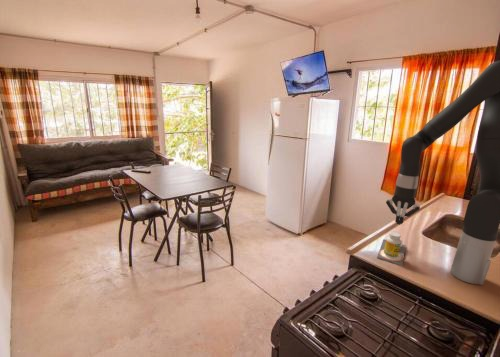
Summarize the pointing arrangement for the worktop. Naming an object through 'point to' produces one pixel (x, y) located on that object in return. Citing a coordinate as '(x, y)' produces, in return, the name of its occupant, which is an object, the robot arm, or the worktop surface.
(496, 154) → the robot arm
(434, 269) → the worktop surface
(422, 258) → the worktop surface
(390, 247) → the supplement bottle
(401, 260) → the grey rectangular board
